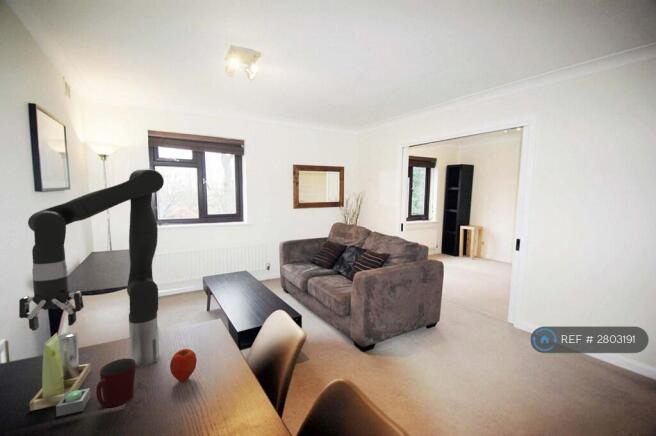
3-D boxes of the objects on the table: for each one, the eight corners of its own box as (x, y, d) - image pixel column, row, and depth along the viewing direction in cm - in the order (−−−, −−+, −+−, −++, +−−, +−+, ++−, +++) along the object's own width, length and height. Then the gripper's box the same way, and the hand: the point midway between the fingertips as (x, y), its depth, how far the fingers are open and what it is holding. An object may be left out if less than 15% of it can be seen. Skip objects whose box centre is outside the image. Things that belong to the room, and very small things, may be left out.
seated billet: (81, 374, 99) (80, 330, 98) (75, 383, 95) (73, 337, 94) (62, 377, 97) (60, 333, 96) (55, 387, 93) (53, 340, 92)
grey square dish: (90, 400, 88) (89, 388, 88) (83, 413, 83) (82, 400, 83) (66, 405, 86) (65, 393, 86) (56, 419, 81) (56, 406, 80)
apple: (201, 380, 99) (200, 351, 98) (175, 392, 93) (174, 361, 92) (191, 369, 105) (191, 342, 104) (166, 380, 99) (166, 351, 98)
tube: (68, 395, 89) (66, 335, 88) (47, 405, 84) (44, 343, 83) (59, 390, 91) (56, 332, 90) (38, 400, 86) (35, 339, 85)
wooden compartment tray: (91, 372, 102) (90, 363, 102) (70, 405, 86) (69, 394, 86) (58, 378, 98) (57, 369, 98) (30, 413, 82) (29, 402, 82)
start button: (83, 398, 87) (83, 388, 87) (79, 406, 83) (78, 396, 83) (69, 401, 85) (68, 392, 85) (63, 410, 82) (63, 399, 82)
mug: (113, 418, 81) (112, 382, 81) (84, 417, 82) (82, 381, 81) (142, 390, 93) (141, 358, 93) (116, 389, 94) (115, 357, 93)
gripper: (10, 282, 79) (15, 337, 80) (75, 276, 85) (78, 328, 86) (26, 275, 86) (29, 326, 87) (84, 270, 92) (87, 318, 93)
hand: (53, 327), depth 87 cm, fingers open, 8 cm apart
